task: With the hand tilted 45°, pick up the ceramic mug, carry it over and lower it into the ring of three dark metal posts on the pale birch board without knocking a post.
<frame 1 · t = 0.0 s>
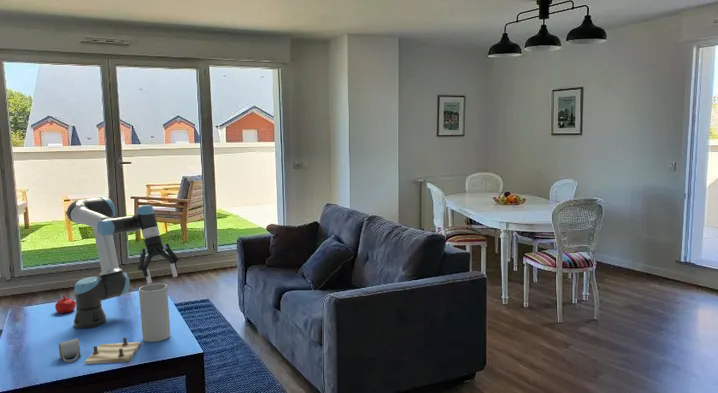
hand: (162, 280, 259), 28 cm above the table, tool tilted 20°, fingers open, 13 cm apart
red pumpkin: (66, 311, 302), on the table
cylinder vase: (156, 338, 261), on the table
post board: (114, 354, 242), on the table
ceramic mug: (71, 358, 239), on the table
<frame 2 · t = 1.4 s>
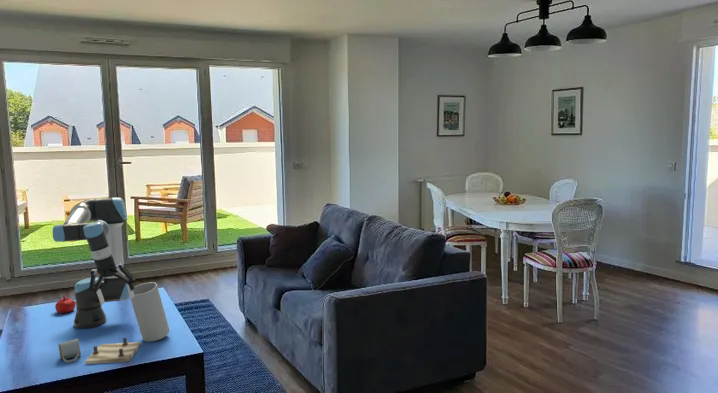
hand: (117, 300, 244), 23 cm above the table, tool pointing down, fingers open, 13 cm apart
cylinder vase: (156, 335, 260), point 1 cm above the table
everything else where it was.
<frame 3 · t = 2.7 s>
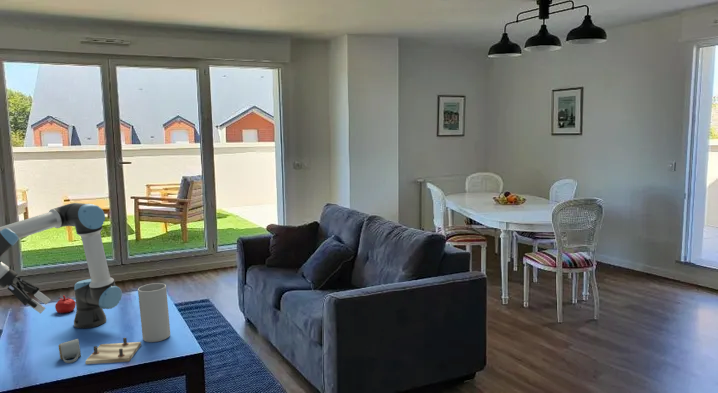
hand: (45, 306, 234), 25 cm above the table, tool tilted 45°, fingers open, 13 cm apart
cylinder vase: (156, 337, 261), on the table
everything else where it was.
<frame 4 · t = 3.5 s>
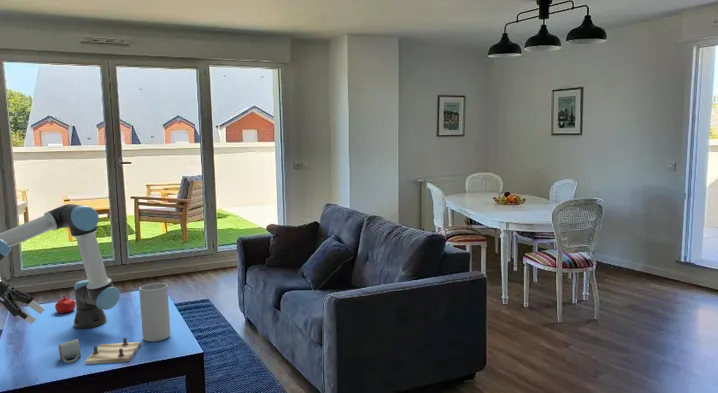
hand: (38, 316, 233), 20 cm above the table, tool tilted 45°, fingers open, 13 cm apart
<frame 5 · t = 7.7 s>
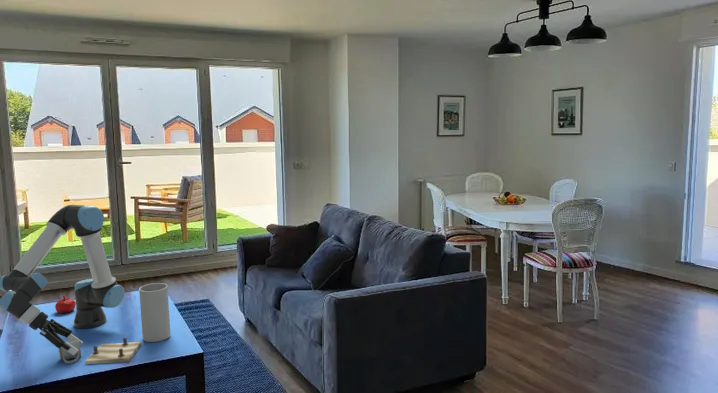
hand: (78, 348, 240), 4 cm above the table, tool tilted 45°, fingers closed on ceramic mug, 9 cm apart
ceramic mug: (71, 359, 238), on the table, touching gripper
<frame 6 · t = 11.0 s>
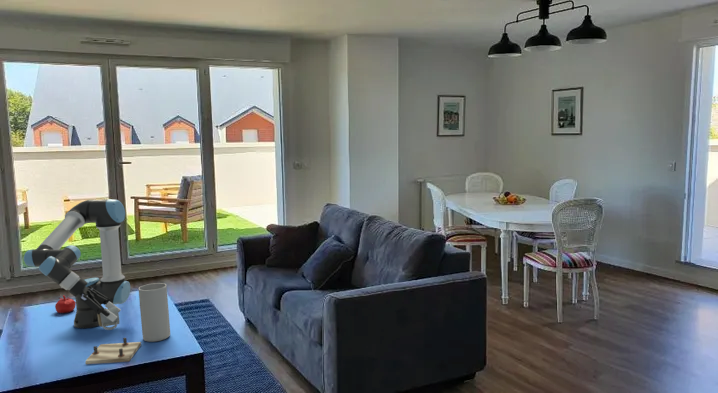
hand: (117, 315, 240), 18 cm above the table, tool tilted 45°, fingers closed on ceramic mug, 9 cm apart
ceramic mug: (110, 326, 239), point 14 cm above the table, touching gripper
when the fingers open (7 cm above the table, at t = 14.2 s): ceramic mug drops 1 cm, resting on post board.
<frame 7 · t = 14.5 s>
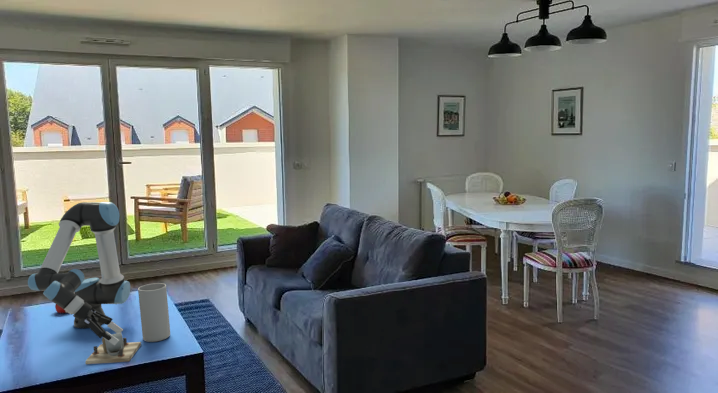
hand: (119, 337, 242), 8 cm above the table, tool tilted 45°, fingers open, 12 cm apart
ceramic mug: (115, 352, 241), point 1 cm above the table, touching post board
everything else where it was.
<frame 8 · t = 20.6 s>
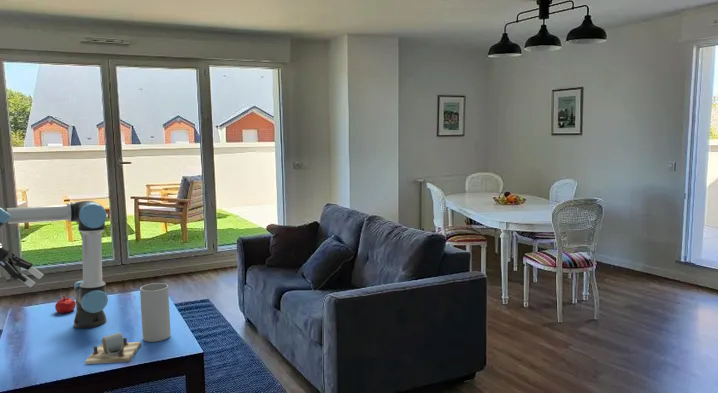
hand: (37, 281, 248), 32 cm above the table, tool tilted 45°, fingers open, 13 cm apart
at the end: ceramic mug 1.3 cm off-centre on the post board, point 1.4 cm above the post board's base; ceramic mug tilted 1°; the gripper is holding nothing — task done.
